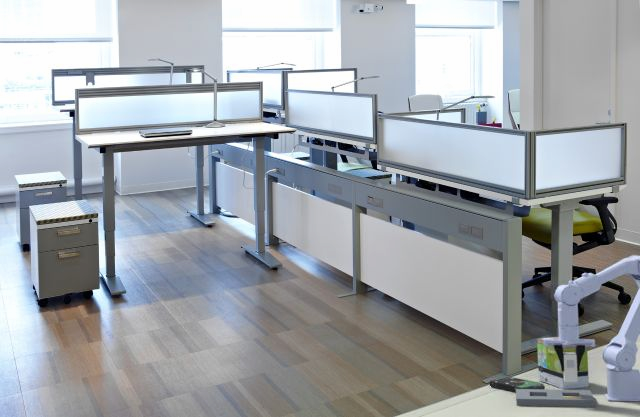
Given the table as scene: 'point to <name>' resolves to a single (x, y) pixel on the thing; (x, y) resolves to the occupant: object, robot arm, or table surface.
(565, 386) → the tea box
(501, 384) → the disk drive
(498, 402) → the table surface
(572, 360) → the plug
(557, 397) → the panel
